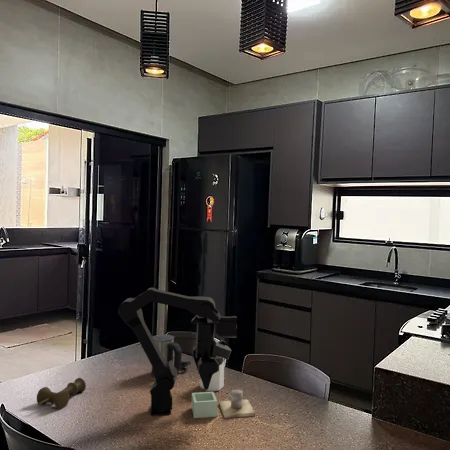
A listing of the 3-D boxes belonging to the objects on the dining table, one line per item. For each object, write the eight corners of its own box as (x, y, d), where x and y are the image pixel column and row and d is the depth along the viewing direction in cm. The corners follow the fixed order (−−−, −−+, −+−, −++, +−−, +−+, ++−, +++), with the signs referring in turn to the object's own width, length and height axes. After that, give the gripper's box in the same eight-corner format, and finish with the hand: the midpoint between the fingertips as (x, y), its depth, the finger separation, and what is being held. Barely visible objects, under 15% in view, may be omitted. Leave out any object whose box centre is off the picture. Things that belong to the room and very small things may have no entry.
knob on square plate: (224, 417, 138) (225, 399, 137) (219, 404, 147) (219, 386, 147) (255, 415, 139) (255, 397, 139) (247, 402, 149) (247, 385, 149)
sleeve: (194, 418, 137) (194, 402, 137) (191, 407, 144) (191, 393, 144) (217, 416, 138) (217, 401, 138) (213, 406, 146) (213, 391, 145)
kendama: (91, 394, 154) (48, 416, 136) (71, 390, 158) (26, 411, 140) (92, 378, 154) (49, 397, 136) (71, 374, 158) (26, 392, 140)
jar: (227, 388, 161) (228, 356, 161) (210, 393, 156) (211, 360, 156) (213, 380, 168) (213, 350, 168) (196, 385, 163) (196, 354, 163)
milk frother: (146, 376, 172) (147, 339, 171) (163, 363, 187) (164, 329, 186) (179, 380, 167) (180, 343, 167) (194, 367, 183) (195, 332, 182)
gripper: (235, 344, 133) (234, 394, 133) (224, 328, 151) (222, 372, 152) (200, 345, 131) (198, 396, 131) (192, 329, 149) (191, 373, 150)
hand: (204, 383), depth 141 cm, fingers open, 9 cm apart
